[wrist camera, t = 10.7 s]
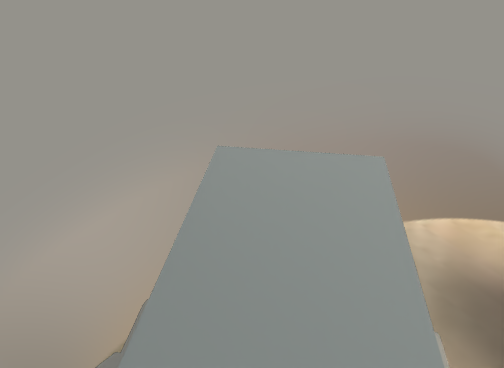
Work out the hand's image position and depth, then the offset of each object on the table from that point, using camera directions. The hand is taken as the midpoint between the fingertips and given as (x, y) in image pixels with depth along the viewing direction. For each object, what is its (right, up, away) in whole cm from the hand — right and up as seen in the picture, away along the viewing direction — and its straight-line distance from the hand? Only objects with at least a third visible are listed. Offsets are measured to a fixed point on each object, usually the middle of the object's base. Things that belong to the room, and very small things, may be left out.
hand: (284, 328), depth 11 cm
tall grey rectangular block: (0, -6, +3) cm, 7 cm away
